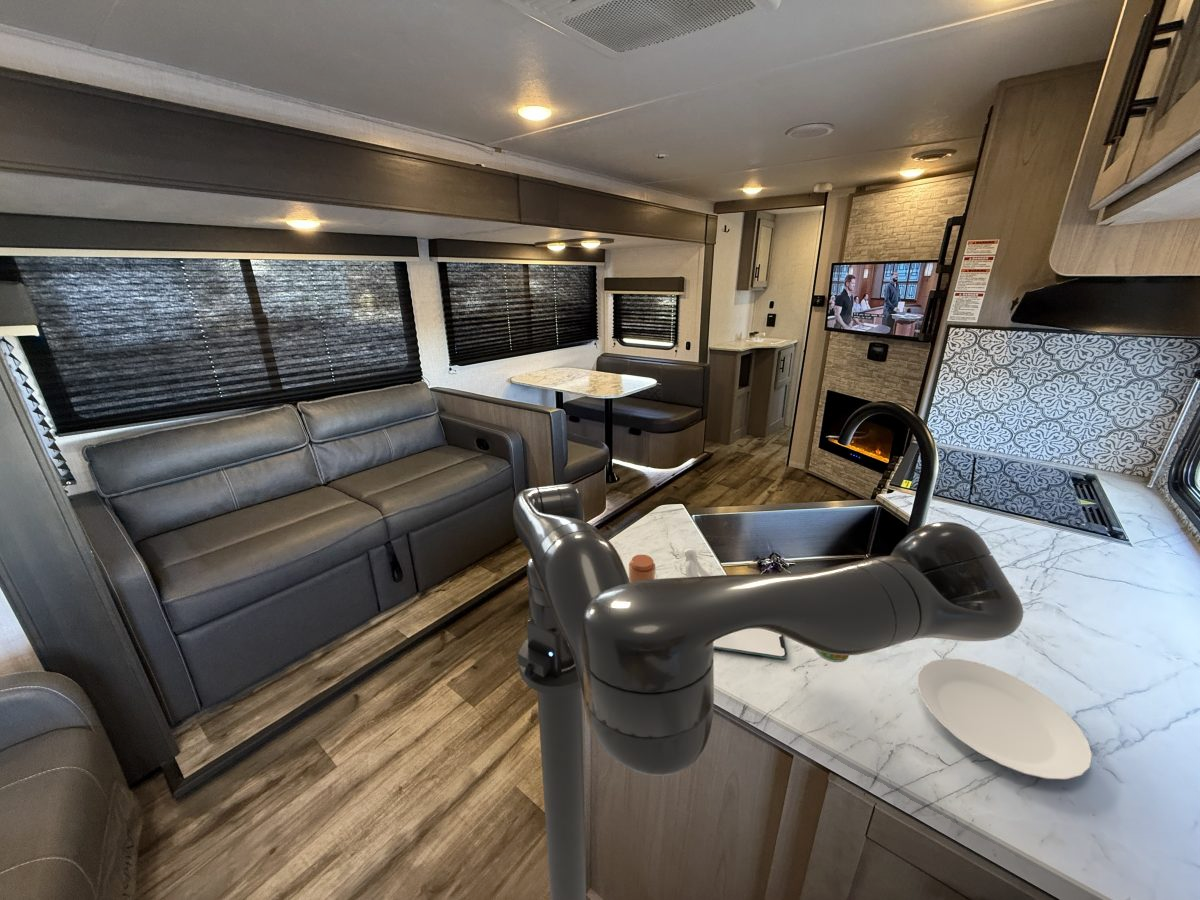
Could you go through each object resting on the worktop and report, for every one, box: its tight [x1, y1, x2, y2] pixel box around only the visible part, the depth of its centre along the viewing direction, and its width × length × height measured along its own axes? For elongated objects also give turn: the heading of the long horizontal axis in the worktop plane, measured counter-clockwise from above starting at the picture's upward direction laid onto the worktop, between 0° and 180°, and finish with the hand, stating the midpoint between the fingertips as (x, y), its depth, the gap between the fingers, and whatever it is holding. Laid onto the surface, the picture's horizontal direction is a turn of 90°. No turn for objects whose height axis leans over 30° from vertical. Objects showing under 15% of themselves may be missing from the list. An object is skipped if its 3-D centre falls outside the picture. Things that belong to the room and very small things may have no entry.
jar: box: [628, 554, 656, 583], centre depth 99 cm, size 6×6×9 cm
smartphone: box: [713, 629, 788, 660], centre depth 88 cm, size 8×1×16 cm
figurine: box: [683, 547, 710, 577], centre depth 97 cm, size 8×8×12 cm
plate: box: [916, 658, 1093, 781], centre depth 72 cm, size 21×21×2 cm
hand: (833, 613), depth 72 cm, fingers closed on supplement bottle, 5 cm apart
